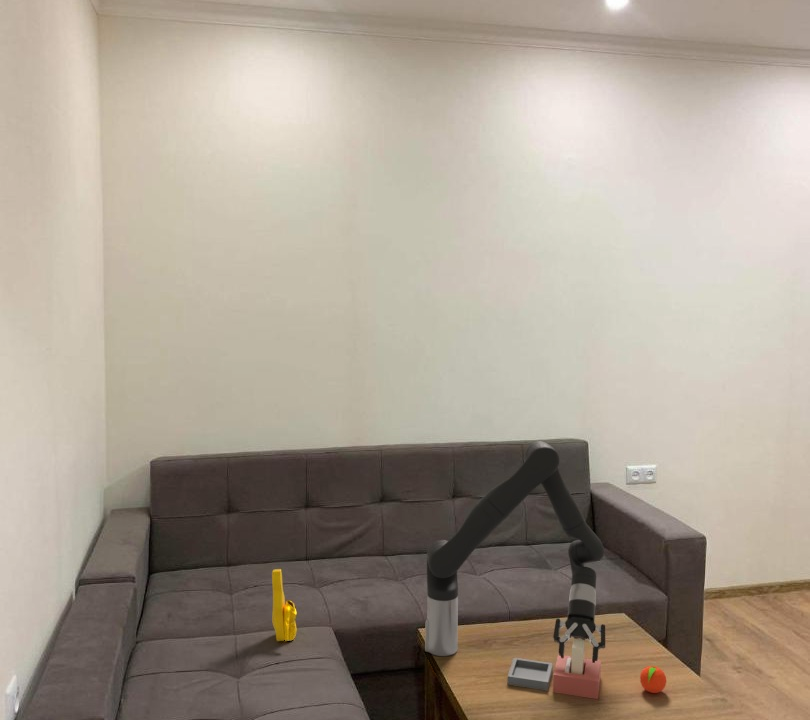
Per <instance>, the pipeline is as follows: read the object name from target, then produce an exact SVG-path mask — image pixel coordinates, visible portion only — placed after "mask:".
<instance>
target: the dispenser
mask: <svg viewBox="0 0 810 720" xmlns="http://www.w3.org/2000/svg"><path fill="white" fill-rule="evenodd" d="M601 663H602V660H599V659H598V660H597V661H595V663H592V658H591V659H590V658H585V657H584V675H583V674H576V673H571V664H572V655H571V656H570V655H565V654H564V658H561V656H559V654H557V658H556V663H555V666H554V669H553V670H554V671H553V674H552V675H553V677H552V678H553V680H552V693H558V694H561V695H562V694H564V695H570V696H576V697H583V698H590V699H596V700H598V699H599V693H600V685H601V676H602V675H601V671H602V670H601V669H602V665H601Z"/></svg>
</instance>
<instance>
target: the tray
mask: <svg viewBox="0 0 810 720" xmlns="http://www.w3.org/2000/svg"><path fill="white" fill-rule="evenodd" d="M511 662H512V663H511V665H510V668H509V671H508V675H507V685H510V686H515V687H523V688H527V689H536V690H543V691H549V688H550V683H551V679H552V675H553V672H554V671H553V670H554V669H553V668H554V667H553V665H554V663H553V662H547V661H541V660H540V661H539V660H534V659H533V660H532V659H528V658H527V659H526V658H525V659H524V658H519V657H513V659H512V661H511Z"/></svg>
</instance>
